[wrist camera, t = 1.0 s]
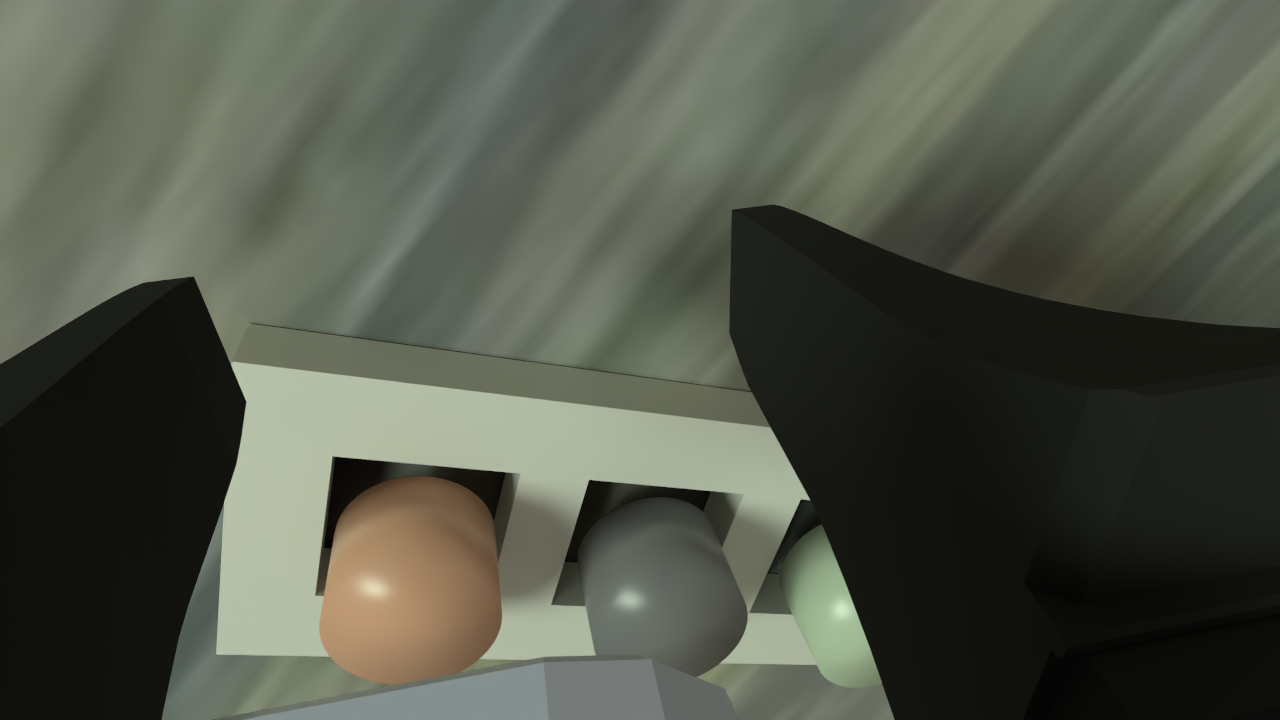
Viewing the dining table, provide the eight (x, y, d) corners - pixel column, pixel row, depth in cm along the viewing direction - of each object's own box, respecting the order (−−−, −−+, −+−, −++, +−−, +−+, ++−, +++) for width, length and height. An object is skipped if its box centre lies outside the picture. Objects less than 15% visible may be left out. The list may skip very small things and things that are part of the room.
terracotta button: (480, 597, 24) (485, 685, 22) (326, 591, 23) (311, 684, 20) (508, 483, 22) (517, 564, 20) (342, 468, 21) (328, 553, 18)
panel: (877, 626, 32) (901, 666, 31) (231, 603, 25) (216, 654, 23) (989, 424, 28) (1025, 458, 26) (249, 323, 21) (232, 361, 19)
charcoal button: (691, 606, 26) (719, 686, 24) (562, 600, 25) (577, 686, 22) (733, 502, 25) (769, 578, 22) (597, 491, 23) (617, 569, 20)
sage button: (869, 613, 29) (914, 688, 26) (760, 609, 27) (795, 687, 25) (921, 519, 27) (975, 589, 24) (807, 509, 25) (850, 582, 23)
